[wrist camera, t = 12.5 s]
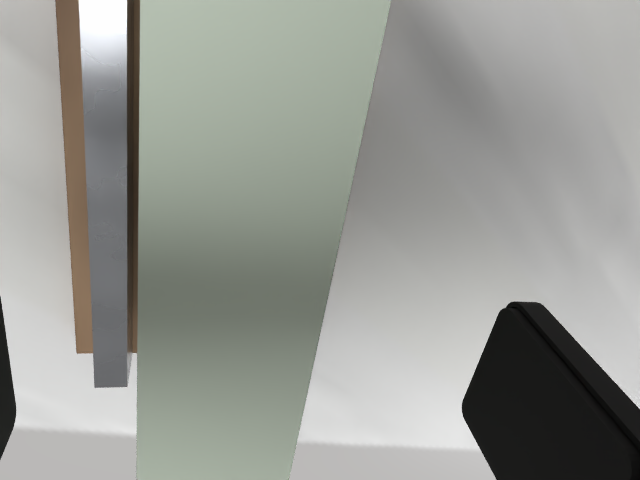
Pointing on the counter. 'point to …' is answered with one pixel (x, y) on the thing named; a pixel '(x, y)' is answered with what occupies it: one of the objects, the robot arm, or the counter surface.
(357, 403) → the counter surface
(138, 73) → the door track
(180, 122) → the pale green block
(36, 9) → the counter surface
